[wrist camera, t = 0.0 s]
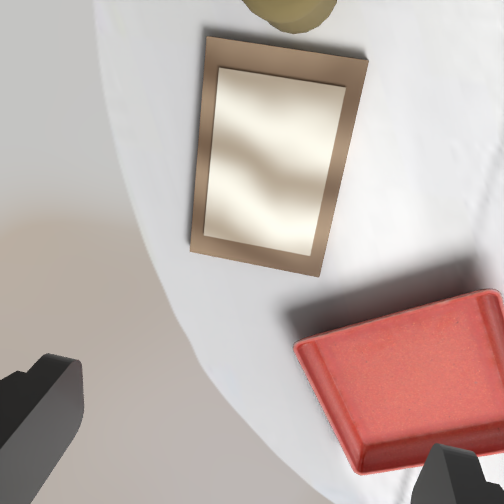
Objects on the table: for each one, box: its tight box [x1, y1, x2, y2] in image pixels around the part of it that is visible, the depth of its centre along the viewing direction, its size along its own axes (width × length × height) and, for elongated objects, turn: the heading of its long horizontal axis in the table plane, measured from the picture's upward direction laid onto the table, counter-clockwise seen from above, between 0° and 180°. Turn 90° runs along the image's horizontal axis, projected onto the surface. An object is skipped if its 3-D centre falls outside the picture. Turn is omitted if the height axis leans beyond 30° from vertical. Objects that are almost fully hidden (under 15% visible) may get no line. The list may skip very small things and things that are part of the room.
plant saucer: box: [293, 289, 504, 475], centre depth 43 cm, size 18×18×3 cm
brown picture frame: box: [190, 36, 369, 277], centre depth 37 cm, size 18×12×1 cm, turn 173°
